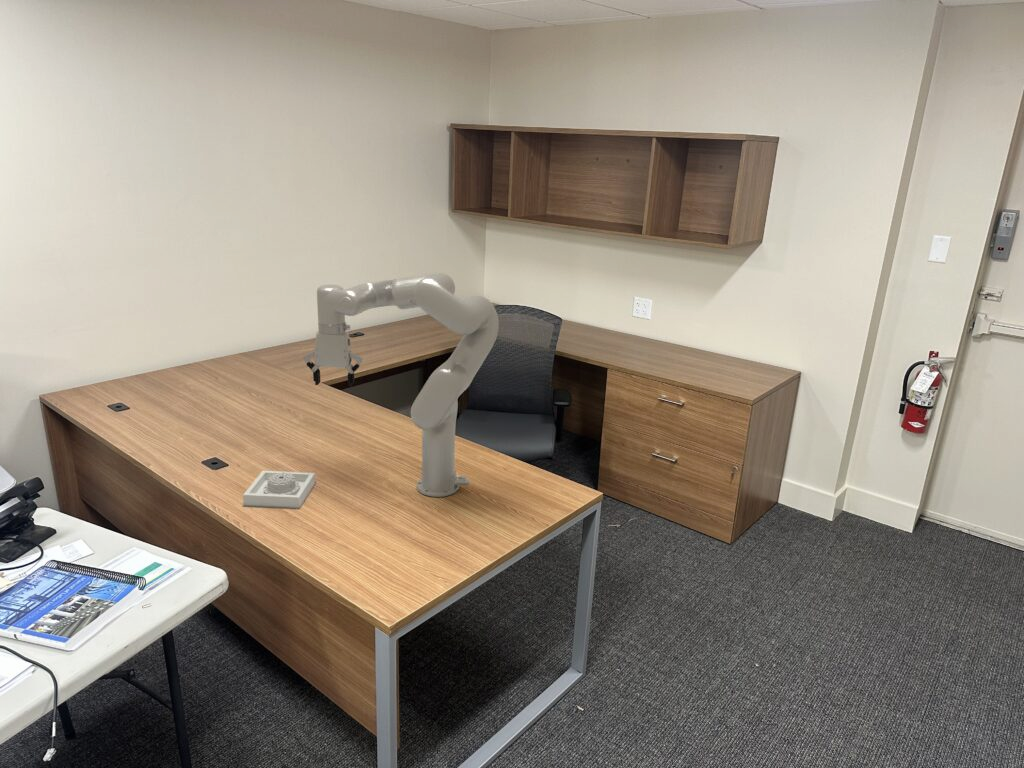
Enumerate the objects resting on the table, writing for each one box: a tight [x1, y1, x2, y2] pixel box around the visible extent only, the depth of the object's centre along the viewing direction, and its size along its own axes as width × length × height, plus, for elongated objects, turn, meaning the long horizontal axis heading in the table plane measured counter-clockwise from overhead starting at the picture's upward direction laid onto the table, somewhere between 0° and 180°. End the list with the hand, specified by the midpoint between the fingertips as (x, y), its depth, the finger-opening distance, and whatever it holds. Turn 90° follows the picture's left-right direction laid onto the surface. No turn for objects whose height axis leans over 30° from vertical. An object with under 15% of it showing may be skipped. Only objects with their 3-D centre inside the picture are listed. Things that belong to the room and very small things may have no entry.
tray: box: [242, 470, 316, 509], centre depth 204 cm, size 15×15×3 cm
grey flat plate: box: [242, 481, 317, 510], centre depth 205 cm, size 16×17×1 cm
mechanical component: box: [263, 471, 300, 495], centre depth 204 cm, size 10×4×10 cm
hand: (334, 384), depth 212 cm, fingers open, 9 cm apart
